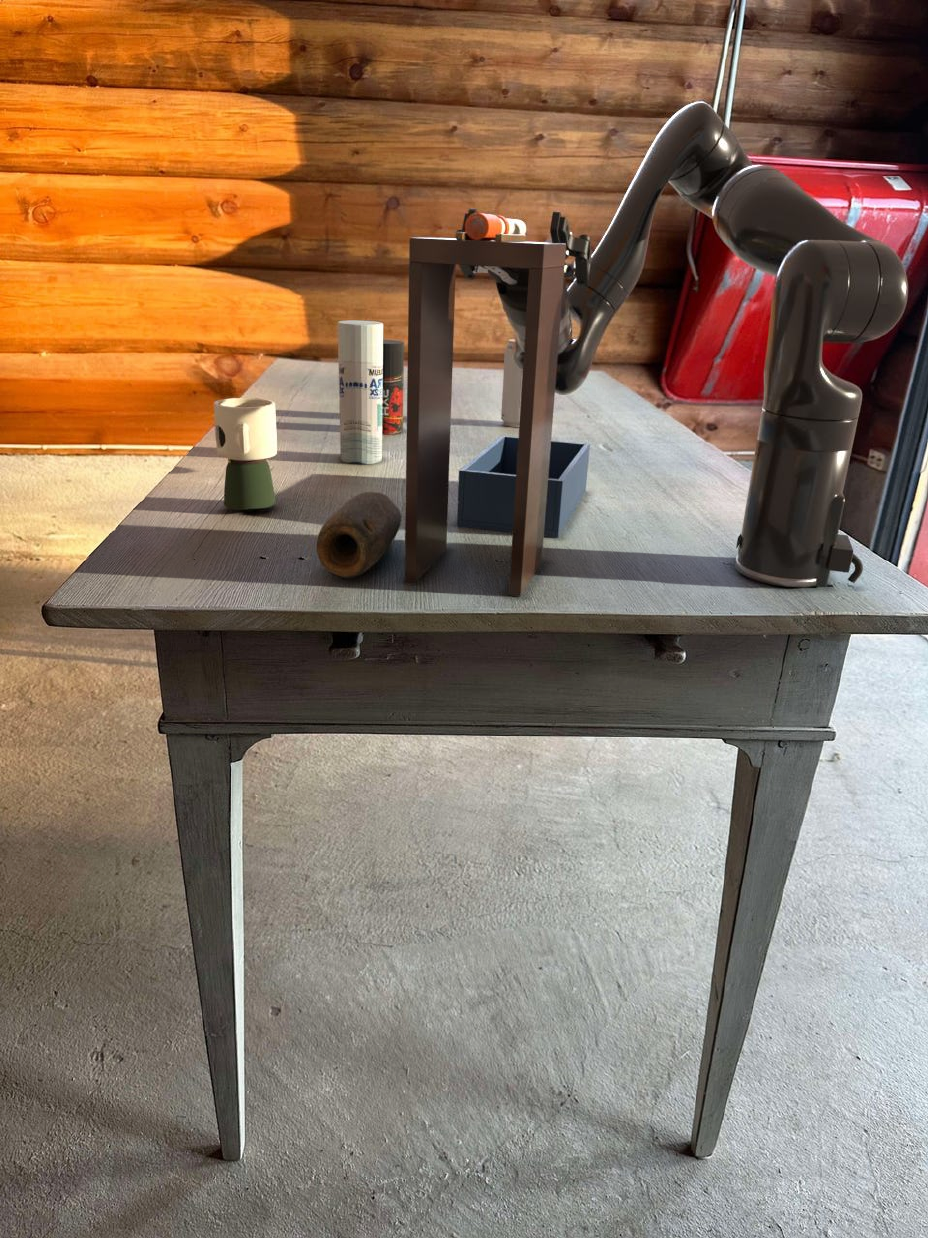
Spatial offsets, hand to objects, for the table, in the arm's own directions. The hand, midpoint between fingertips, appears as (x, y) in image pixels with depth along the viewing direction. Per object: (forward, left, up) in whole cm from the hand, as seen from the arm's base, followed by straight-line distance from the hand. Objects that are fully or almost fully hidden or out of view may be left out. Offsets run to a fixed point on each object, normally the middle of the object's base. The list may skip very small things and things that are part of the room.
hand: (512, 218), depth 89 cm
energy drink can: (+13, -71, -34) cm, 80 cm away
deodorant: (+33, -55, -34) cm, 73 cm away
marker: (0, +3, -1) cm, 3 cm away
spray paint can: (+29, -33, -34) cm, 56 cm away
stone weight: (+12, +10, -34) cm, 38 cm away
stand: (0, +8, -34) cm, 35 cm away
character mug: (+32, -3, -34) cm, 47 cm away
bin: (0, -17, -34) cm, 38 cm away
